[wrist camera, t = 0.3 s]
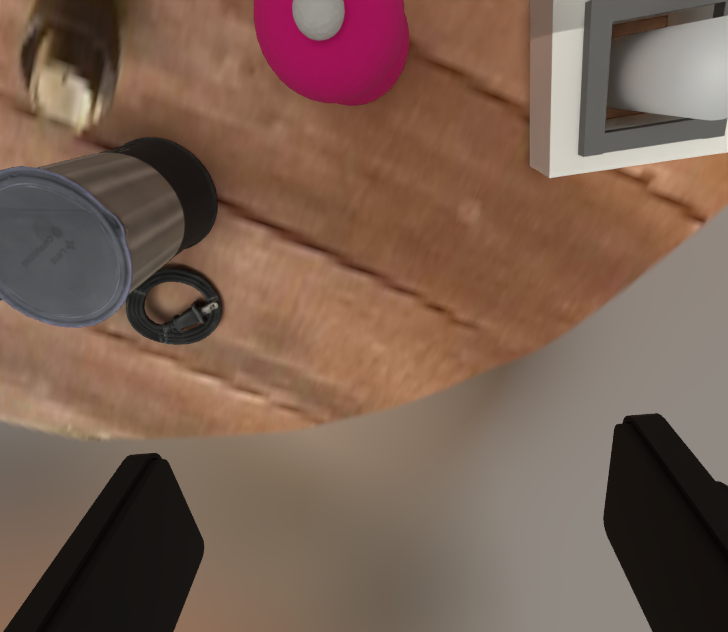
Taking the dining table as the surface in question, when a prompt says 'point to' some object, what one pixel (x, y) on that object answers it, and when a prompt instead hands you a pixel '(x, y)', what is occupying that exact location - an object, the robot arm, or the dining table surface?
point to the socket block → (626, 84)
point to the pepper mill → (334, 46)
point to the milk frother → (107, 237)
